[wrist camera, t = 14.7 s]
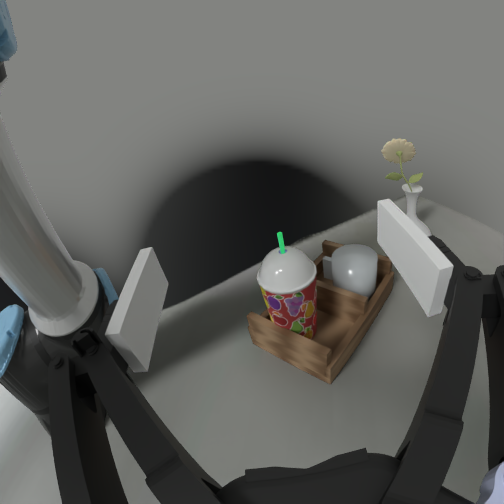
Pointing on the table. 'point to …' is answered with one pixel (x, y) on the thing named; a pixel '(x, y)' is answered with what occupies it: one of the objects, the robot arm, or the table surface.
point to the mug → (353, 269)
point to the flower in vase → (398, 154)
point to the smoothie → (290, 289)
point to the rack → (326, 323)
